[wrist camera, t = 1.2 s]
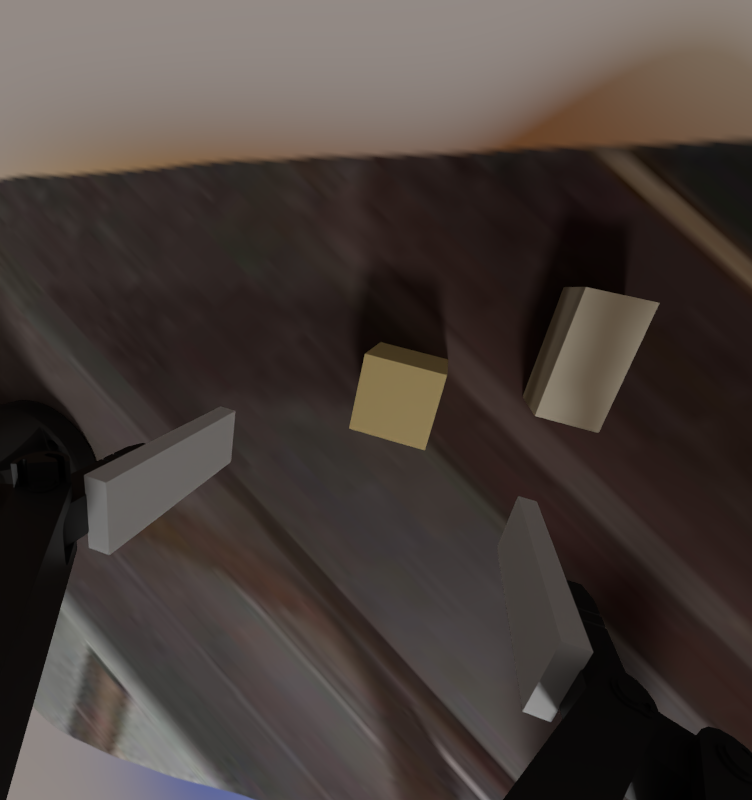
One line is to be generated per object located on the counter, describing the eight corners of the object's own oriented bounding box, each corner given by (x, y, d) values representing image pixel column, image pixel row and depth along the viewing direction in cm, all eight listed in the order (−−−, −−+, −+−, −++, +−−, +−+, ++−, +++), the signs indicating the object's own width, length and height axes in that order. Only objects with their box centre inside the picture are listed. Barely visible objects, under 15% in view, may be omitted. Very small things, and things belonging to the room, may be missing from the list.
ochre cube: (366, 404, 33) (349, 428, 28) (380, 341, 31) (364, 353, 26) (429, 422, 33) (424, 450, 27) (448, 359, 31) (447, 375, 25)
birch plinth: (522, 396, 30) (534, 415, 26) (563, 287, 27) (586, 286, 23) (575, 410, 30) (598, 432, 25) (623, 300, 27) (659, 303, 22)
